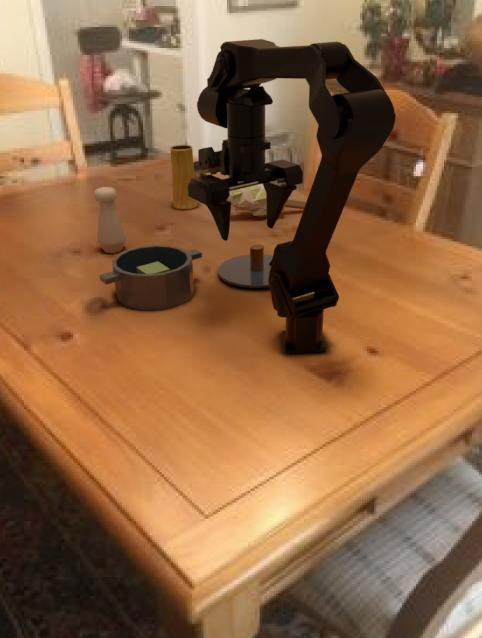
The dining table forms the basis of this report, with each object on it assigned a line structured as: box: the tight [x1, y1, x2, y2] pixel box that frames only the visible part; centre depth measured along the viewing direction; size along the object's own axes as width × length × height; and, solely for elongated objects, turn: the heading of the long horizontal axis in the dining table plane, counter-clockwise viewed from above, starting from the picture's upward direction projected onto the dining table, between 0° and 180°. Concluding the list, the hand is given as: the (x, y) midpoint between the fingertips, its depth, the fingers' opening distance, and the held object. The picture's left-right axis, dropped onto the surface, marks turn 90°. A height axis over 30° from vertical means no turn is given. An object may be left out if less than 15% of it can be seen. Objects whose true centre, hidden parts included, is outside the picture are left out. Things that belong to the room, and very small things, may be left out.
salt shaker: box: [94, 186, 126, 254], centre depth 128 cm, size 6×6×13 cm
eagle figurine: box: [193, 160, 210, 178], centre depth 171 cm, size 8×7×9 cm
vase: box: [169, 144, 199, 211], centre depth 152 cm, size 6×6×14 cm
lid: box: [217, 243, 273, 289], centre depth 118 cm, size 15×15×6 cm
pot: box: [99, 244, 203, 311], centre depth 112 cm, size 14×19×6 cm
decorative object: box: [227, 184, 308, 218], centre depth 147 cm, size 9×10×25 cm
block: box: [137, 261, 170, 274], centre depth 112 cm, size 4×4×4 cm
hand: (248, 233), depth 102 cm, fingers open, 9 cm apart
